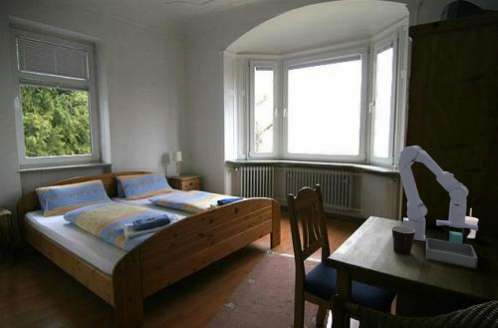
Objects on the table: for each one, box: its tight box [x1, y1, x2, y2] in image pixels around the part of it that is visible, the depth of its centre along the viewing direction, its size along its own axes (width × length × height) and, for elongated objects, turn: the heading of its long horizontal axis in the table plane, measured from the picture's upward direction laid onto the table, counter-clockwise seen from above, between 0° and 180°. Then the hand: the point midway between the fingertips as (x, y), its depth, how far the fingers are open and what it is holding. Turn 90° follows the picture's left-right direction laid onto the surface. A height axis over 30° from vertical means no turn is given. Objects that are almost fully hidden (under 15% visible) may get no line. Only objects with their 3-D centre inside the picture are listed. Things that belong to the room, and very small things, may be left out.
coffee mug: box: [391, 225, 415, 256], centre depth 118 cm, size 12×9×10 cm
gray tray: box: [425, 237, 479, 269], centre depth 115 cm, size 16×14×4 cm
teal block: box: [449, 230, 463, 243], centre depth 124 cm, size 4×4×6 cm
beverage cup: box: [465, 207, 479, 239], centre depth 135 cm, size 6×6×14 cm
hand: (454, 243), depth 124 cm, fingers closed on teal block, 4 cm apart
